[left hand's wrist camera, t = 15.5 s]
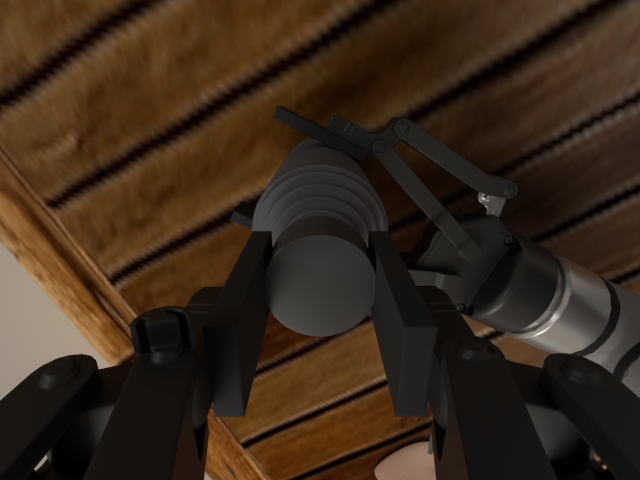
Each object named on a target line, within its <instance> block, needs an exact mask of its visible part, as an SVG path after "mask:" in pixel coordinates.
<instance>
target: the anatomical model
mask: <svg viewBox="0 0 640 480" xmlns="http://www.w3.org/2000/svg"><path fill="white" fill-rule="evenodd" d="M428 447H429V441H426V442H418V443H414V444H411V445H408V446H406V447H404V448H402V449H400V450H398V451H396V452H394V453H393V454H391V455H390V456H388V457H387V458H385V459H384V460H383V461H381V462H380V463H379V464H378V465H377V467H376V469H375V475H376V477H377V479H378V480H436V473H435V464H434V455H433V453H432V454H428Z"/></svg>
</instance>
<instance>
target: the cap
mask: <svg viewBox="0 0 640 480" xmlns="http://www.w3.org/2000/svg"><path fill="white" fill-rule="evenodd" d="M264 276H265V292H266V303H267V305H268V307H269V309H270V311H271V312H272V313H273V315H274V316H275V317H276V318H277V319H278V320H279V321H280V322H281V323H282V324H284V325H285V326H287V327H288V328H290V329H292V330H294V331H296V332H299V333H302V334H305V335H310V336H330V335H335V334H339V333H342V332H344V331H346V330H349V329H351V328H352V327H354V326H355V325H357V324H358V323H359V322H360V321H362V320H363V319H364V317H365V316H366V315H367V314H368V313H369V311H370V310H371V308H372V306H373V304H374V298H375V282H376V272H375V268H374V265H373V262H372V259H371V256H370V253H369V250H368V248H367V245H366V243H365V241H364V239H363V238H362V236H361V235H360V234H359V233H358V232H357V231H356V230H355V229H354V228H353V227H352V226H350V225H349V224H347V223H345V222H344V221H341V220H339V219H336V218H332V217H327V216H314V217H308V218H304V219H301V220H299V221H297V222H295V223H293V224H291V225H290V226H289V227H287V228H286V229H285V230H284V231H283V232H282V233H281V234H280V235H279V237H278V238H277V240H276V242H275V243H274V246H273V248H272V251H271V254H270V257H269V260H268V263H267V266H266V269H265V273H264Z"/></svg>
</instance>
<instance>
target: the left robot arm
mask: <svg viewBox="0 0 640 480" xmlns="http://www.w3.org/2000/svg"><path fill="white" fill-rule="evenodd" d="M272 248H273V247H272V231H253V232H252V234H251V235H250V237H249V239H248V241H247V243H246V245H245V247H244V249H243V251H242V253H241V254H240V256H239V258H238V260H237V262H236V264H235V266H234V268H233V270H232V271H231V273H230V275H229V277H228V279H227V281H226V283H225V285H224V287H204V288H203V289H201V290H200V291H198V292H197V293H195V294H194V295H193V296H192V298H191V299H190V301H189V302H188V304H187V306H186V307H185V308H182V307H179V306H166V307H160V308H155V309H153V310H150V311H147V312H145V313H143V314H141V315H140V316H138V317H136V318H135V319H134V320H133V321H132V322H131V324H130V325H129V327H130V331H131V335H132V340H133V344H134V348H135V353H136V357H135V359H134V362H130V363H127V364H123V365H118V366H113V367H108V368H104V369H98V366H97V362H96V360H95V359H94V358H93V357H92V356H89V355H83V354H79V355H69V356H65V357H61V358H58V359H55V360H53V361H51V362H49V363H47V364H45V365H43V366H41V367H40V368H38V369H37V370H35V371H34V372H33V373H31V374H30V375H29V376H28V377H27V378H26V379H24V380H23V381H22V382H21V383H20V384H19V385H18V386H16V387H15V388H14V389H13V390H12V391H11V392H10V393H8V394H7V395H6V396H5V397H4V398H3V399H2V400H1V401H0V480H204V474H205V465H206V456H207V446H208V437H209V427H208V420H207V415H208V413H209V410H210V407H211V404H212V401H213V407H214V414H215V417H244V416H245V412H246V408H247V404H248V400H249V395H250V391H251V387H252V383H253V379H254V375H255V371H256V366H257V362H258V358H259V354H260V350H261V346H262V342H263V337H264V333H265V329H266V325H267V321H268V317H269V313H270V309H269V307H268V305H267V303H266V292H265V276H264V273H265V269H266V266H267V263H268V260H269V257H270V254H271V251H272ZM368 250H369V253H370V256H371V259H372V262H373V265H374V268H375V272H376V282H375V298H374V304H373V306H372V308H371V310H370V311H371V315H372V319H373V323H374V328H375V332H376V336H377V340H378V344H379V348H380V352H381V357H382V361H383V365H384V369H385V373H386V377H387V381H388V386H389V390H390V394H391V398H392V402H393V406H394V410H395V415H396V417H426V410H427V403H428V401H429V404H430V407H431V410H432V412H433V420H432V427H431V434H430V440H429V447H428V454H432V453H433V455H434V464H435V473H436V480H640V398H639V397H638V396H637V395H636V394H635V393H634V392H632V391H631V390H630V389H629V388H628V387H627V386H626V385H624V384H623V383H622V382H621V381H620V380H619V379H618V378H616V377H615V376H614V375H613V374H612V373H611V372H609V371H608V370H607V369H605V368H604V367H602V366H601V365H599V364H598V363H595V362H593V361H591V360H589V359H587V358H585V357H582V356H578V355H574V354H568V353H555V354H550V355H549V356H548V357H546V358H545V360H544V364H543V367H542V368H539V367H535V366H530V365H525V364H520V363H516V362H512V361H509V360H506V359H505V357H504V355H503V353H502V352H501V351H500V349H499V348H498V347H497V346H495V345H494V344H492V343H491V342H490V341H487V340H485V339H483V338H480V337H477V336H475V335H474V333H473V332H472V330H471V329H470V327H469V326H468V324H467V323H466V321H465V320H464V318H463V317H462V315H461V314H460V312H458V309H457V308H456V306H455V305H453V302H452V300H451V299H450V297H449V296H448V294H447V293H445V292H444V291H443V290H441V289H440V288H438V287H437V286H416V284H415V282H414V280H413V278H412V276H411V274H410V273H409V271H408V269H407V267H406V265H405V263H404V261H403V259H402V257H401V256H400V254H399V252H398V250H397V248H396V246H395V244H394V242H393V240H392V239H391V237H390V235H389V233H388V231H369V236H368ZM595 453H596V454H597V455H598V457H599V458H600V459H601V460H602V461H603V463H604V464H605V465H606V466H607V469H606V470H605V469H603V468H602V467H601V466H600V465H599V464H598V462H597V461H596V460H595V459H594V454H595ZM45 455H47V458H48V459H47V460H46V461H45V462H44V464H43V465H42V466H41V467H40V468H39V469H38V470H36V471H35V470H34V468H35V467H36V466H37V465H38V463H39V462H40V461H41V460H42V459H43V457H44V456H45Z"/></svg>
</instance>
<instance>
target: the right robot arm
mask: <svg viewBox="0 0 640 480" xmlns="http://www.w3.org/2000/svg"><path fill="white" fill-rule="evenodd" d="M273 118H274V119H276V120H278V121H280V122H282V123H284V124H286V125H288V126H290V127H292V128H294V129H296V130H298V131H300V132H302V133H304V134H306V135H308V136H310V137H312V138H314V139H316V140H318V141H320V142H322V143H324V144H326V145H328V146H330V147H332V148H334V149H336V150H338V151H340V152H342V153H344V154H346V155H348V156H350V157H352V158H354V159H356V160H358V161H360V162H362V163H363V162H364V160H365V158H366V156H367V154H368V153H370V154H372V155H373V156H374V157H375V158H376V159H377V160H378V161H379V162H380V164H381V165H382V166H383V167H384V168H385V169H386V170H387V171H388V173H389V174H390V175H391V176H392V177H393V178H394V179H395V180H396V182H397V183H398V184H399V185H400V186H401V187H402V188H403V189H404V190H405V192H406V193H407V194H408V195H409V196H410V197H411V198H412V199H413V201H414V202H415V203H416V204H417V205H418V206H419V207H420V208H421V210H422V211H423V212H424V213H425V214H426V215H427V216H428V218H429V219H430V220H431V221H432V222H429V223H428V225H427V227H426V228H425V230H424V233H423V236H422V239H421V240H420V241H419V242H418V243H417V244H416V245H415V246H414V247H413V249H412V251H411V252H410V253H408V252H399V254H400V256H401V257H402V259H403V261H404V263H405V265H406V267H407V269H408V271H409V273H410V274H411V276H412V278H413V280H414V282H415V284H416V285H419V286H437V287H438V288H440V289H441V290H443V291H444V292H445V293H447V294H448V296H449V297H450V299H451V300H452V302H453V305H455V306H456V308H457V309H458V312H460V313H461V314H463V315H465V316H467V317H469V318H471V319H473V320H476V321H478V322H480V323H482V324H485V325H487V326H489V327H491V328H494V329H496V330H498V331H501V332H504V333H506V334H507V335H509V336H511V337H513V338H515V339H518V340H520V341H522V342H525V343H527V344H529V345H532V346H534V347H536V348H539V349H541V350H543V351H546V352H547V353H549V354H555V353H568V354H574V355H578V356H582V357H585V358H587V359H589V360H591V361H593V362H595V363H598V364H599V365H601V366H602V367H604V368H605V369H607V370H608V371H609V372H611V373H612V374H613V375H614V376H615V377H616V378H618V379H619V380H620V381H621V382H622V383H623V384H624V385H626V386H627V387H628V388H629V389H630V390H631V391H632V392H634V393H635V394H636V395H637V396H638V397H639V398H640V296H639V295H637V294H635V293H633V292H631V291H629V290H627V289H625V288H623V287H620V286H618V285H616V284H614V283H612V282H610V281H608V280H606V279H604V278H603V277H601V276H599V275H598V274H596V273H594V272H592V271H590V270H588V269H586V268H584V267H582V266H580V265H578V264H576V263H574V262H572V261H570V260H568V259H566V258H565V257H563V256H561V255H559V254H556V253H554V252H552V251H549V250H548V249H546V248H545V247H543V246H541V245H539V244H537V243H535V242H533V241H531V240H529V239H527V238H525V237H523V236H521V235H519V234H517V233H515V232H513V231H511V230H509V229H507V228H506V227H505V225H504V224H503V221H502V220H501V219H500V218H499V215H500V213H501V210H502V208H503V206H504V203H505V201H506V199H511V198H513V197H515V196H516V194H517V193H518V185H517V184H516V183H514V182H511V181H509V180H507V179H504V178H502V177H499V176H497V175H492V174H488V173H484V172H482V171H481V170H480V169H478V168H477V167H475V166H474V165H473V164H471V163H470V162H468V161H467V160H465V159H464V158H463V157H461V156H460V155H458V154H457V153H456V152H454V151H453V150H451V149H450V148H449V147H447V146H446V145H444V144H443V143H441V142H440V141H439V140H437V139H436V138H434V137H433V136H432V135H430V134H429V133H427V132H426V131H425V130H423V129H422V128H420V127H419V126H418V125H416V124H415V123H413V122H412V121H410V120H409V119H406V118H401V117H394V118H392V119H391V120H390V121H389V123H388V124H387V125H386V126H385V127H384V128H383V129H382V130H380V131H379V132H376V133H371V132H368V131H367V130H365V129H363V128H361V127H359V126H357V125H355V124H353V123H351V122H349V121H347V120H345V119H343V118H342V117H340V116H331V117H330V119H329V121H328V124H327V126H326V128H324V127H322V126H320V125H318V124H316V123H314V122H312V121H310V120H308V119H306V118H304V117H302V116H300V115H298V114H296V113H294V112H292V111H290V110H289V109H287V108H285V107H283V106H277V108H276V110H275V113H274V115H273ZM400 141H403V142H404V143H406V144H407V145H409V146H410V147H412V148H413V149H414V150H416V151H417V152H419V153H420V154H422V155H423V156H425V157H426V158H428V159H429V160H430V161H432V162H433V163H435V164H436V165H438V166H439V167H441V168H442V169H443V170H445V171H446V172H448V173H449V174H451V175H452V176H454V177H455V178H456V179H458V180H459V181H461V182H463V183H464V184H466V185H468V186H470V187H472V188H473V189H474V191H473V197H474V199H475V200H477V201H479V202H480V203H481V205H482V209H481V210H480V211H474V212H468V213H462V214H456V215H451V214H450V213H449V212H448V211H447V210H446V209H445V208H444V207H443V205H442V204H441V203H440V202H439V201H438V200H437V199H436V197H435V196H434V195H433V194H432V193H431V192H430V190H429V189H428V188H427V187H426V186H425V185H424V184H423V182H422V181H421V180H420V179H419V178H418V177H417V175H416V174H415V173H414V172H413V171H412V170H411V169H410V167H409V166H408V165H407V164H406V163H405V162H404V160H403V159H402V158H401V157H400V156H399V155H398V154H397V152H396V151H395V150H394V149H393V147H395V146H396V145H397V144H398V143H399V142H400ZM255 209H256V207H254V206H252V205H250V204H247V203H245V202H243V201H242V202H241V203H240V204H239V205H238V206H237V208H236V209H235V210H234V212H233V214H232V217H231V219H230V220H231V221H233V222H235V223H238V224H240V225H242V226H244V227H247V228H249V229H251V230H252V223H253V216H254V212H255ZM369 312H370V313H371V311H369Z"/></svg>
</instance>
